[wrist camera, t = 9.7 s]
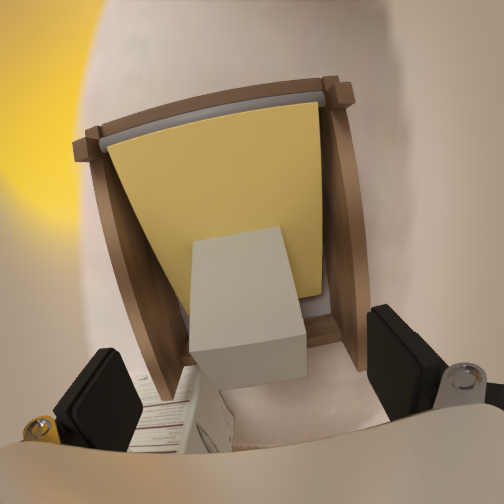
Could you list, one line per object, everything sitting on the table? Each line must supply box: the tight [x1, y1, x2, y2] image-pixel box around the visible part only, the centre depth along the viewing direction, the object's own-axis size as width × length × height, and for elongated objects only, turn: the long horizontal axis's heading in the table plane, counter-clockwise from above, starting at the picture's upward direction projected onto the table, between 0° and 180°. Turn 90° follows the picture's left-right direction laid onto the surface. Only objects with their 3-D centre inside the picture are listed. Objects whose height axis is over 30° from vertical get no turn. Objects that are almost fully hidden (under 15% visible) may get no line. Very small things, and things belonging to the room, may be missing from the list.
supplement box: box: [127, 365, 234, 454], centre depth 19 cm, size 7×7×13 cm
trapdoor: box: [99, 91, 326, 317], centre depth 18 cm, size 14×11×1 cm
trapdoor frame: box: [72, 76, 370, 401], centre depth 18 cm, size 17×13×8 cm
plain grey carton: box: [189, 226, 307, 391], centre depth 17 cm, size 5×5×7 cm
